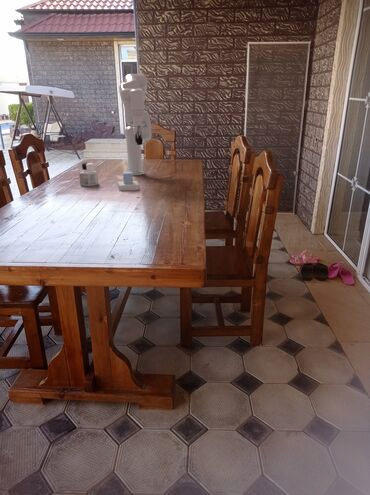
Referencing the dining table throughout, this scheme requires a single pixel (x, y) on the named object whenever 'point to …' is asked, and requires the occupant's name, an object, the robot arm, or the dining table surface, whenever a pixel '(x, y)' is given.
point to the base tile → (128, 186)
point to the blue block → (127, 178)
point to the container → (88, 175)
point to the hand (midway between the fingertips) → (138, 143)
